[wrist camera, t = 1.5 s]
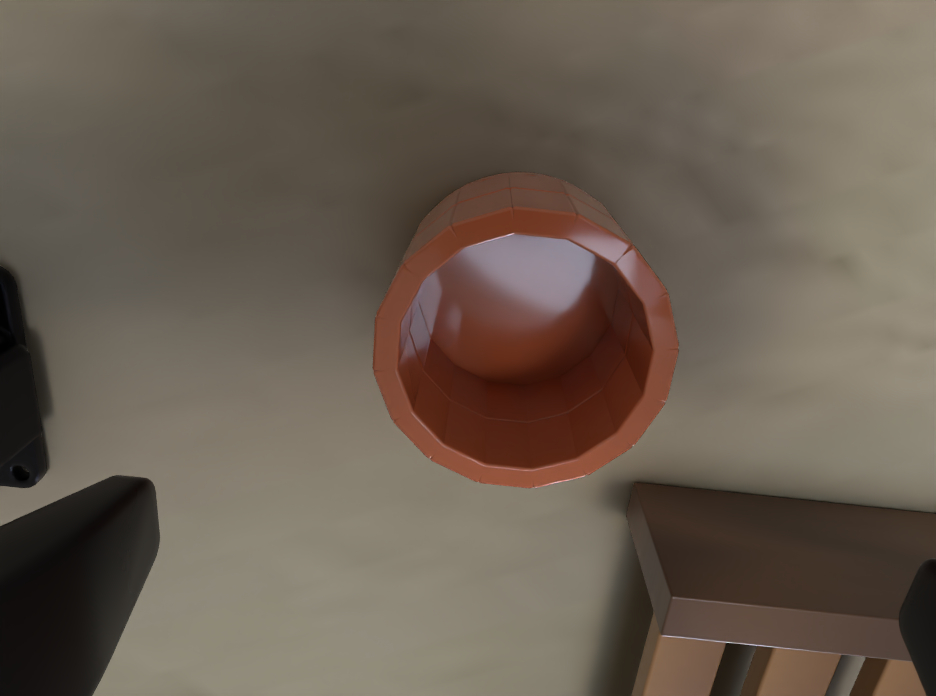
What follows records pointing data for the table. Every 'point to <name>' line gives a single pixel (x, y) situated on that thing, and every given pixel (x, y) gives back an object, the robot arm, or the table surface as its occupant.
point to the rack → (774, 590)
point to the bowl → (523, 334)
